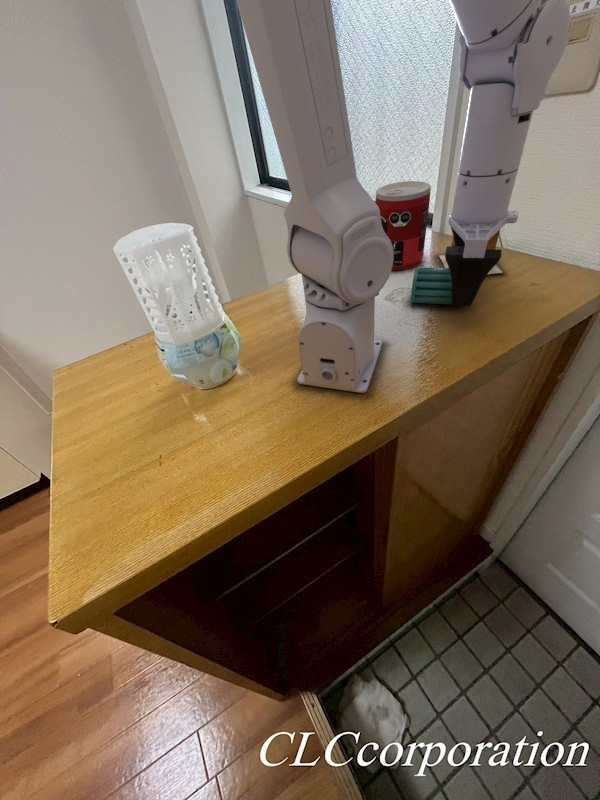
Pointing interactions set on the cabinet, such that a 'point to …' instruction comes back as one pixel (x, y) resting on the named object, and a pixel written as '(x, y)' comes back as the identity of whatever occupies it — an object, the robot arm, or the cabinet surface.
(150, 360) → the cabinet surface
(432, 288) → the pencil holder
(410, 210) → the canned food
